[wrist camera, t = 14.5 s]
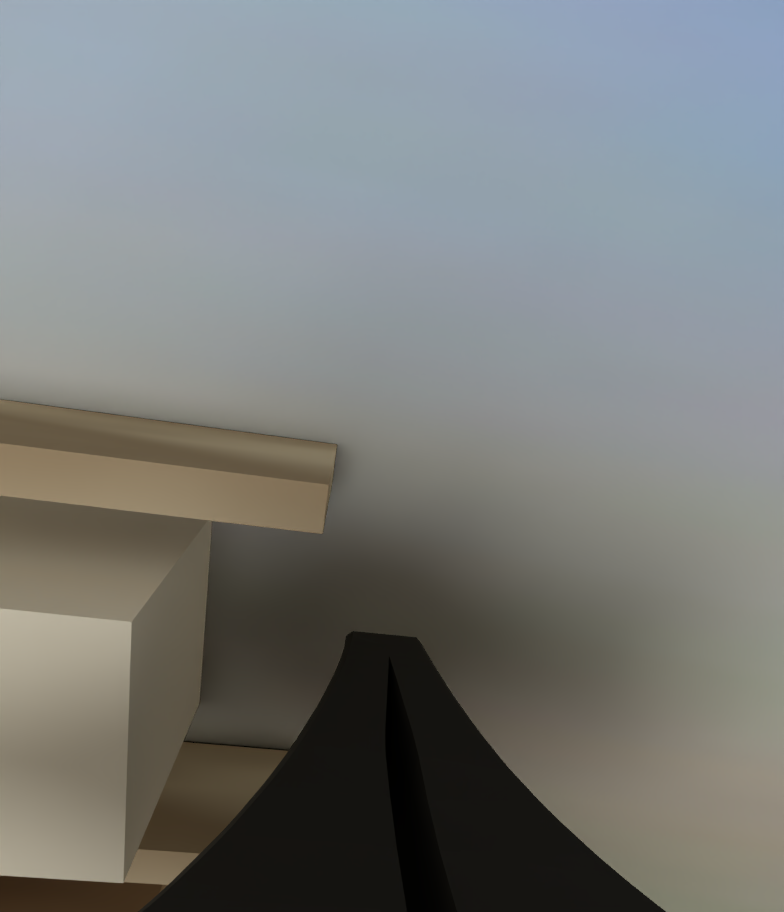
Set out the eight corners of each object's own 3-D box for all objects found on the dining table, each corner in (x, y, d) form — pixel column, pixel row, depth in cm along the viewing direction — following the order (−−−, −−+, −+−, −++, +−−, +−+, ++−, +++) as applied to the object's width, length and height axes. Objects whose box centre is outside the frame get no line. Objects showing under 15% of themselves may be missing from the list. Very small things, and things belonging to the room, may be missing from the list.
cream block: (200, 699, 12) (123, 882, 8) (-11, 680, 12) (-197, 862, 8) (213, 511, 11) (131, 622, 7) (-21, 483, 11) (-243, 583, 7)
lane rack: (265, 1000, 14) (241, 1174, 12) (-136, 981, 14) (-272, 1164, 11) (336, 444, 10) (325, 496, 8) (-220, 369, 10) (-470, 396, 7)
